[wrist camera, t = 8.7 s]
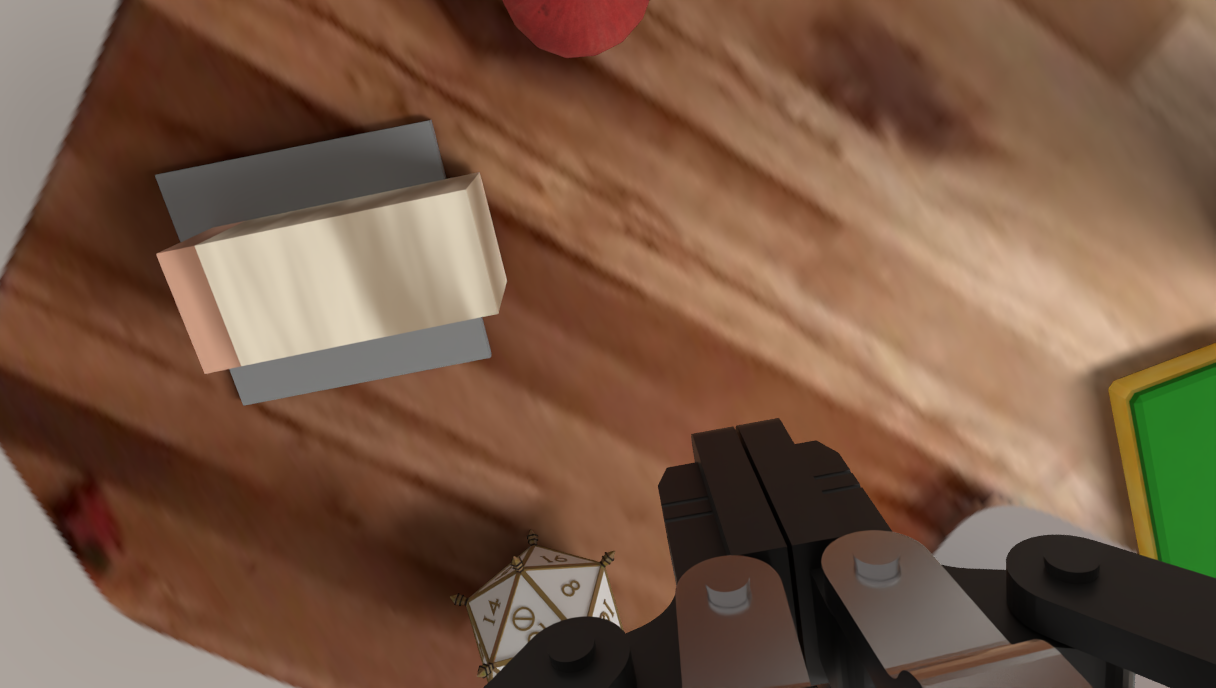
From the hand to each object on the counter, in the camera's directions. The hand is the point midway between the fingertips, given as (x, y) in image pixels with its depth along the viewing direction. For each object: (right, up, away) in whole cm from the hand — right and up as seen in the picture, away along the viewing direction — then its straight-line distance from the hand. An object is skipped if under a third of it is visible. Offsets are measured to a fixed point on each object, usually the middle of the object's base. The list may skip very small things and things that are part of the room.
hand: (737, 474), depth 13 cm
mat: (-15, +6, +22) cm, 27 cm away
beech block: (-7, +7, +19) cm, 21 cm away
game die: (-5, -10, +29) cm, 31 cm away
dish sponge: (+29, -4, +29) cm, 41 cm away
